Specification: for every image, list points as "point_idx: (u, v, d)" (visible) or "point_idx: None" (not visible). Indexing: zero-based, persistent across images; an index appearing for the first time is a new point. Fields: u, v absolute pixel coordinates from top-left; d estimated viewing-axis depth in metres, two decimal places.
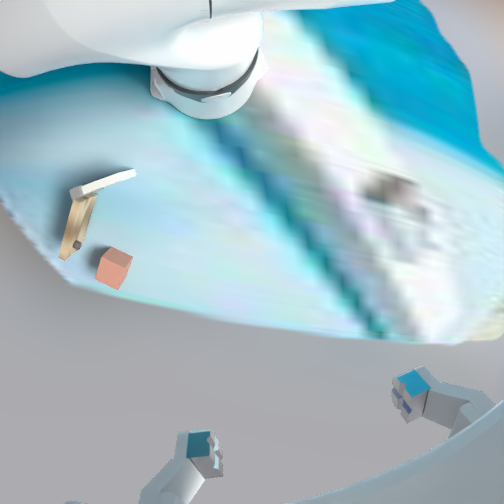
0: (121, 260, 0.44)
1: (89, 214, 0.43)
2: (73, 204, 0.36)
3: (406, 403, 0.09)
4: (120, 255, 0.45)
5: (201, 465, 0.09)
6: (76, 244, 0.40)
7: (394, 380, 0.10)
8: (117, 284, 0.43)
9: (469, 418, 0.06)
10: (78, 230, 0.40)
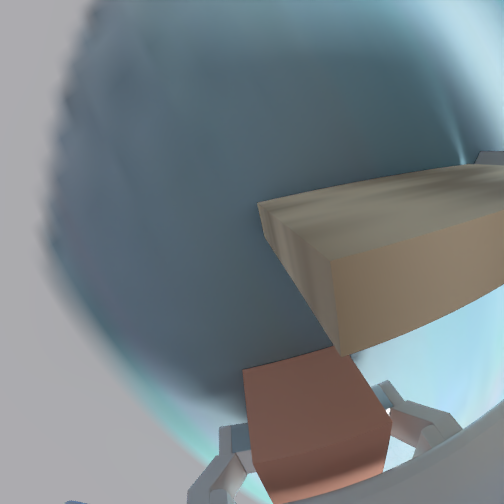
0: None
1: None
2: None
3: None
4: None
5: (246, 459, 0.09)
6: None
7: None
8: None
9: (430, 442, 0.06)
10: None
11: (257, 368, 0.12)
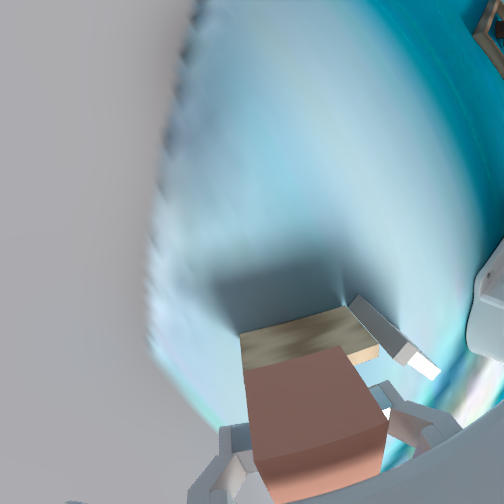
0: None
1: None
2: (370, 349, 0.19)
3: None
4: None
5: (246, 459, 0.09)
6: None
7: None
8: None
9: (430, 442, 0.06)
10: None
11: (258, 369, 0.12)
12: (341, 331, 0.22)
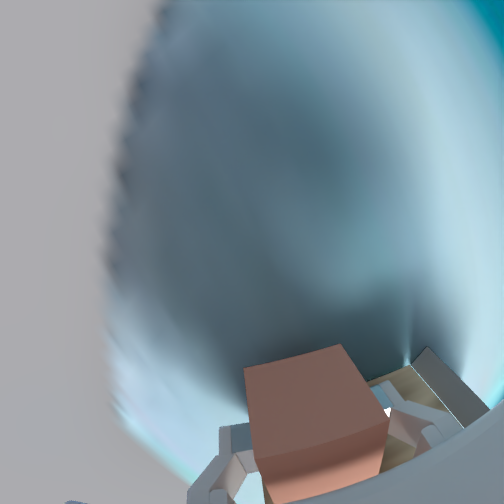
0: None
1: None
2: None
3: None
4: None
5: (246, 459, 0.09)
6: None
7: None
8: (298, 499, 0.08)
9: (430, 442, 0.06)
10: None
11: (258, 366, 0.12)
12: None
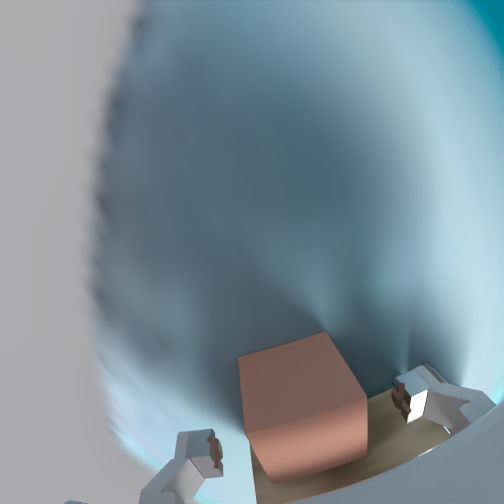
0: None
1: None
2: None
3: (406, 403, 0.09)
4: None
5: (201, 465, 0.09)
6: None
7: (394, 380, 0.10)
8: (293, 476, 0.10)
9: (469, 418, 0.06)
10: None
11: (251, 354, 0.13)
12: (409, 436, 0.11)
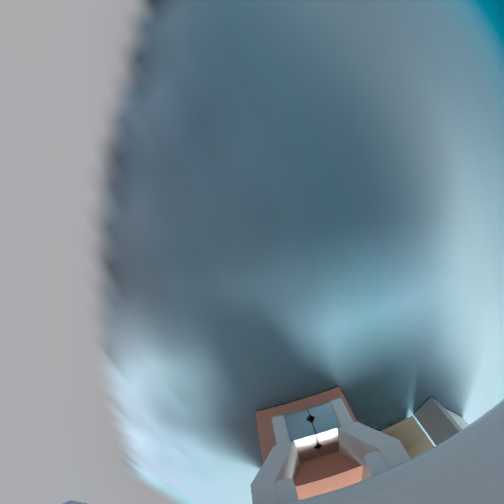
0: None
1: None
2: None
3: None
4: None
5: (303, 447, 0.09)
6: None
7: (307, 411, 0.10)
8: None
9: (372, 470, 0.06)
10: None
11: (268, 409, 0.13)
12: None
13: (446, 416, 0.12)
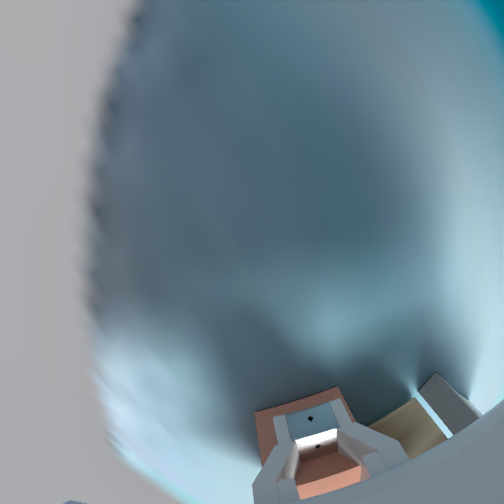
0: None
1: None
2: None
3: None
4: None
5: (304, 447, 0.09)
6: None
7: None
8: None
9: (370, 471, 0.06)
10: None
11: (267, 410, 0.13)
12: None
13: (453, 391, 0.12)
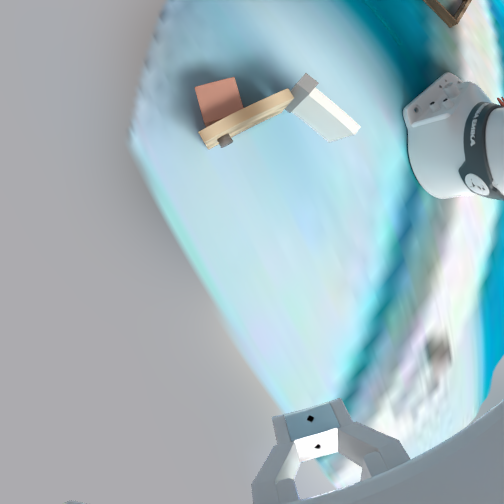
0: None
1: (257, 123, 0.32)
2: (283, 92, 0.25)
3: None
4: None
5: (303, 447, 0.09)
6: (228, 138, 0.28)
7: None
8: (212, 117, 0.28)
9: (371, 470, 0.06)
10: (241, 127, 0.29)
11: None
12: None
13: None
